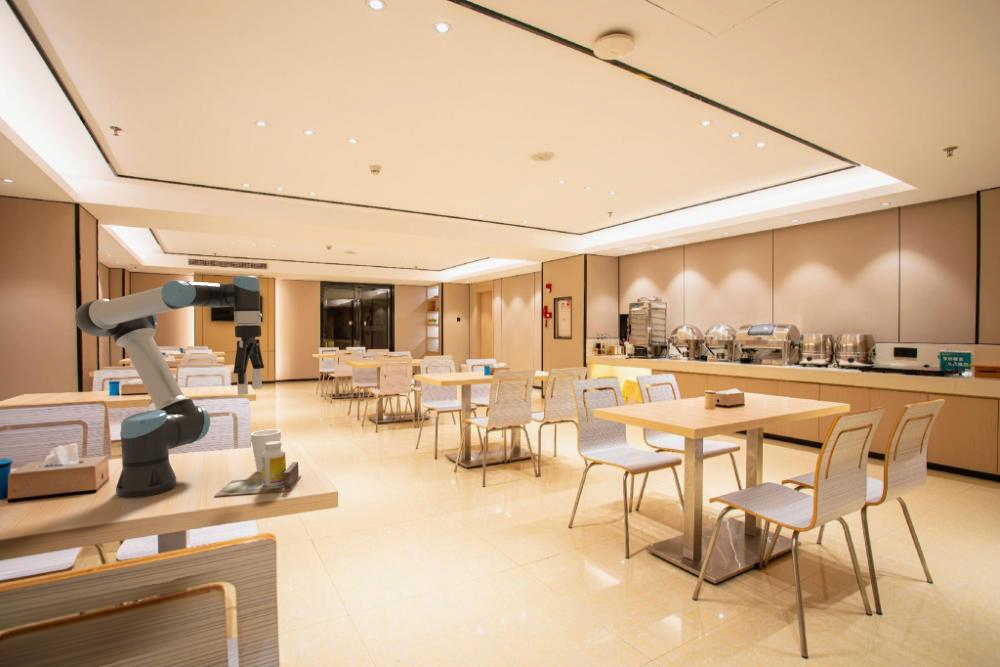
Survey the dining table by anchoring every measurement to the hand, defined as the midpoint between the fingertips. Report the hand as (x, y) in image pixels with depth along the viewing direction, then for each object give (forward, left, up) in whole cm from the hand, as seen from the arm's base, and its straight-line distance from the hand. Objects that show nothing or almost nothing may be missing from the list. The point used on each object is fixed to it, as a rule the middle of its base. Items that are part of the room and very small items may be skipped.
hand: (250, 391), depth 158 cm
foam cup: (+1, +11, -29) cm, 31 cm away
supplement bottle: (+8, -7, -28) cm, 30 cm away
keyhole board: (+4, -7, -29) cm, 30 cm away
